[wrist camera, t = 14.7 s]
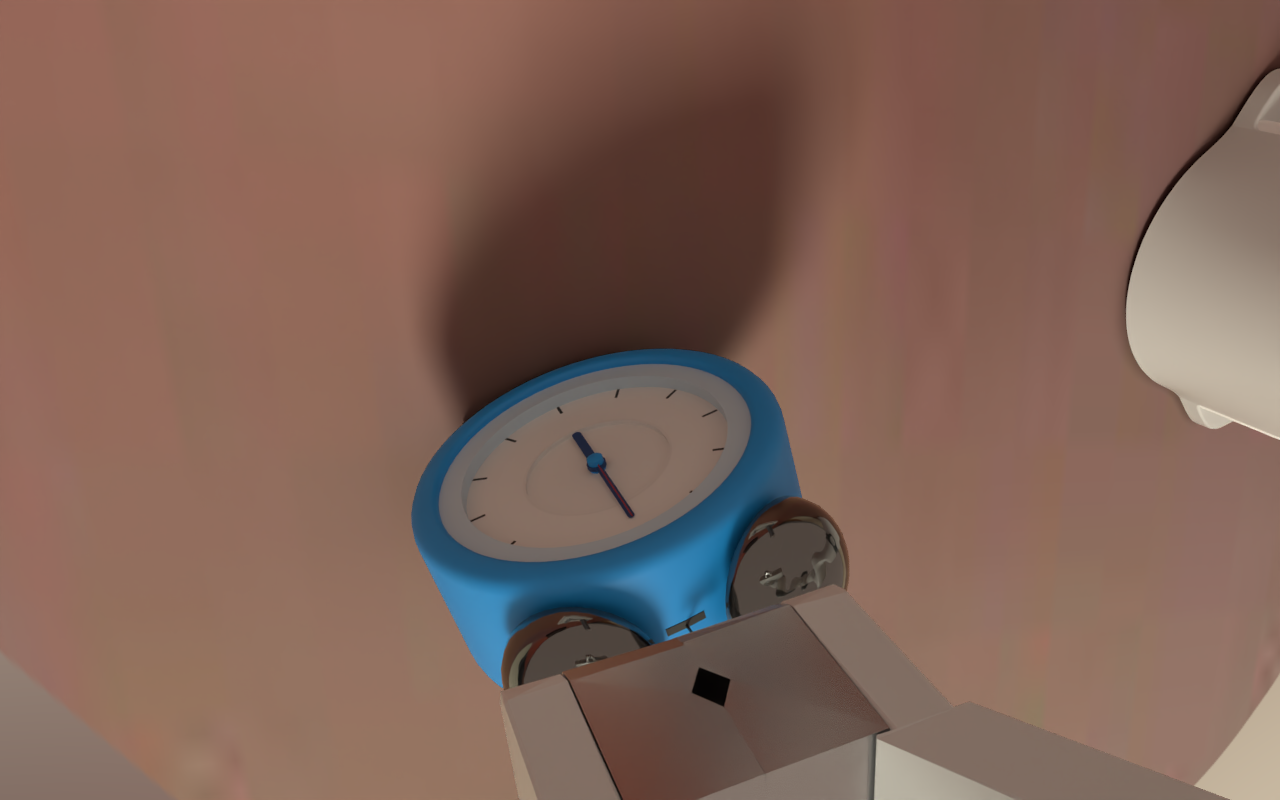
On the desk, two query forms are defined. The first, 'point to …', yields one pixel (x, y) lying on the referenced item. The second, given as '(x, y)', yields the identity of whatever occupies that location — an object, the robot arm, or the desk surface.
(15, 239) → the desk surface
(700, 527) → the alarm clock
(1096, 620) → the desk surface
